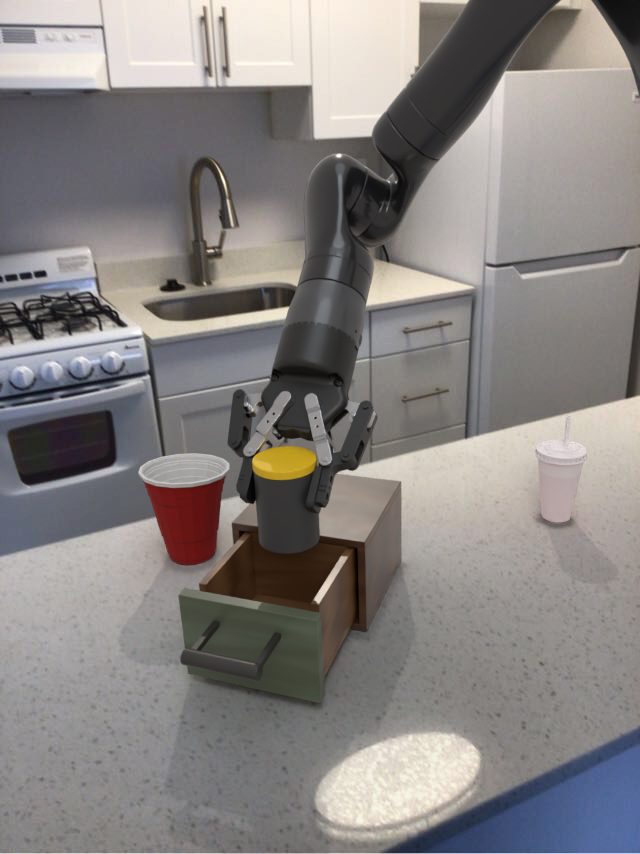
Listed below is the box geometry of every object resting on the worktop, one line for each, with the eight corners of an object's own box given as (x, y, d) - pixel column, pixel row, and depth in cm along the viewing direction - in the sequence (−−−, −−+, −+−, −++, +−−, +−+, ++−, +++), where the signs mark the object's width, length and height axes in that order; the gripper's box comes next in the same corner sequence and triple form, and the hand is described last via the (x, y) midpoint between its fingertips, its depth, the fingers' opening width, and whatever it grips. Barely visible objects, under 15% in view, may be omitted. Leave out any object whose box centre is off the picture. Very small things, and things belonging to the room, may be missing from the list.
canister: (329, 527, 71) (325, 449, 68) (307, 558, 66) (302, 475, 63) (273, 519, 73) (267, 443, 70) (248, 548, 68) (241, 467, 65)
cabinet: (366, 632, 78) (365, 542, 74) (238, 608, 83) (231, 522, 79) (401, 560, 91) (401, 481, 87) (289, 543, 96) (284, 467, 92)
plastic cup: (253, 541, 97) (247, 454, 92) (204, 584, 88) (194, 490, 83) (184, 525, 101) (175, 442, 97) (131, 564, 92) (118, 474, 88)
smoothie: (588, 526, 97) (598, 424, 92) (538, 528, 97) (545, 426, 92) (572, 503, 103) (581, 407, 98) (525, 505, 103) (531, 408, 98)
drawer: (297, 750, 62) (291, 662, 59) (155, 715, 67) (143, 631, 64) (364, 617, 79) (362, 543, 76) (248, 596, 83) (242, 525, 80)
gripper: (238, 315, 71) (188, 481, 65) (386, 322, 67) (347, 502, 61) (264, 354, 78) (221, 508, 72) (400, 363, 73) (366, 529, 67)
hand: (279, 505), depth 66 cm, fingers closed on canister, 5 cm apart
